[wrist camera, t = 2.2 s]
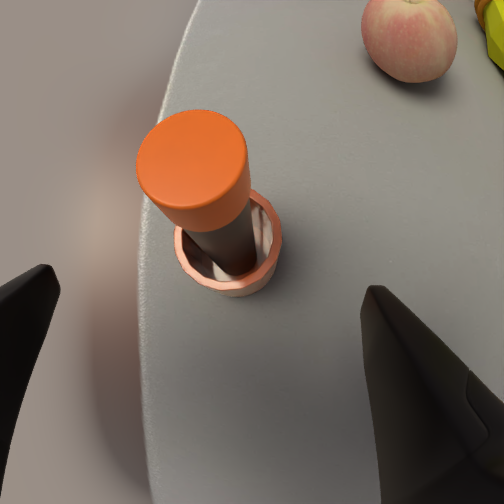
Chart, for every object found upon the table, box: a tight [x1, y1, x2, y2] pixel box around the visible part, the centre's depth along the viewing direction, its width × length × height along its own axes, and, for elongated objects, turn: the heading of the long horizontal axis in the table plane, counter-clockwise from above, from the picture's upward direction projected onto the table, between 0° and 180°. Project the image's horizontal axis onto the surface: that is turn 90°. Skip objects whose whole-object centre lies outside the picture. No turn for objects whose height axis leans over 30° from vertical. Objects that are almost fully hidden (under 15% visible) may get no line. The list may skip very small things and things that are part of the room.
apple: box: [361, 0, 457, 83], centre depth 18 cm, size 8×8×8 cm
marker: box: [136, 110, 257, 275], centre depth 13 cm, size 3×3×12 cm
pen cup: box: [174, 189, 282, 297], centre depth 17 cm, size 5×5×5 cm
